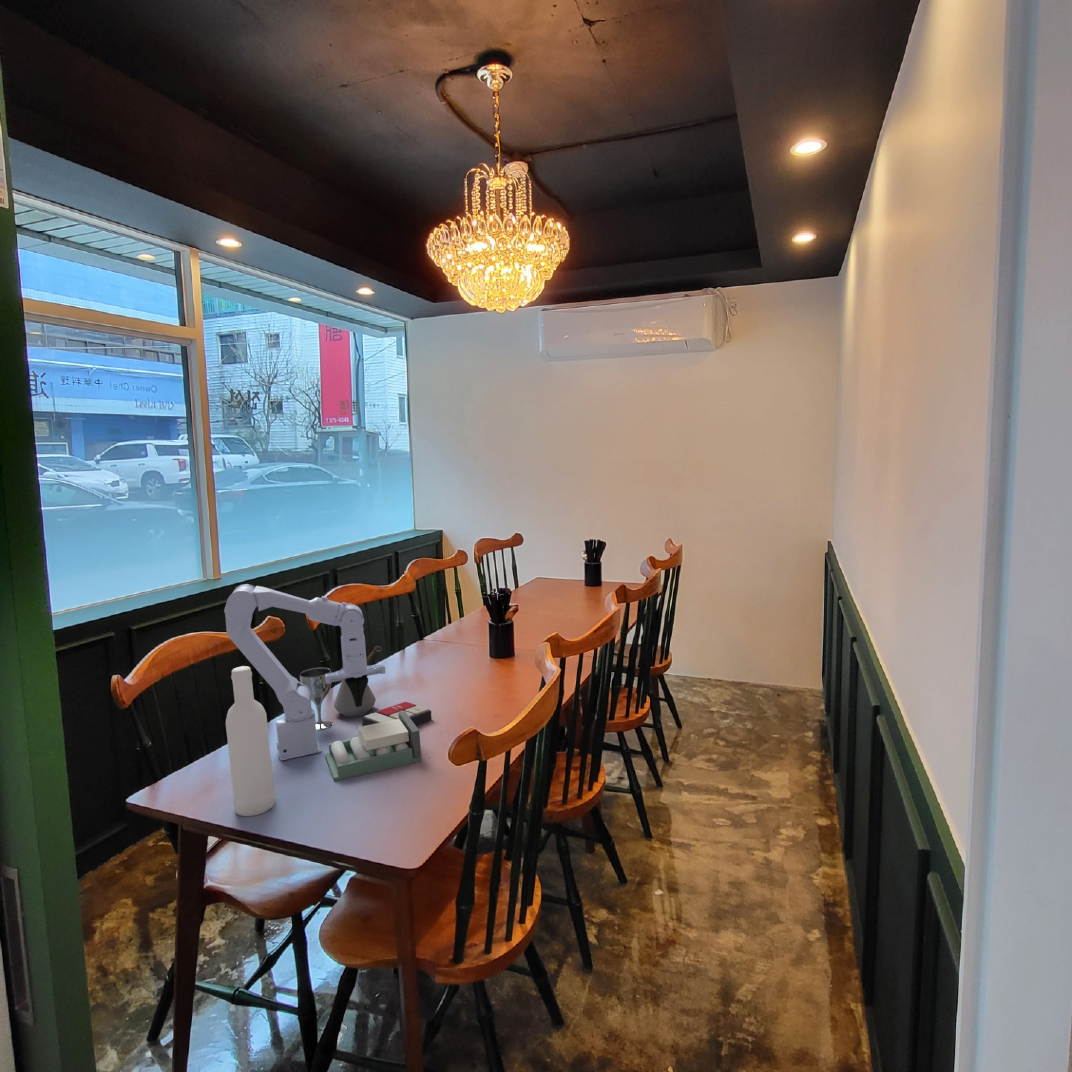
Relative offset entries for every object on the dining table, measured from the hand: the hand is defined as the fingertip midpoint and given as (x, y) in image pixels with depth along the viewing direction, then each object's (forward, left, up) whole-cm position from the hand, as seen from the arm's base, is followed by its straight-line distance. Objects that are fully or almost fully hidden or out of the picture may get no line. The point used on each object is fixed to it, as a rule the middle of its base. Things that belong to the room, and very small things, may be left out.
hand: (358, 705), depth 171 cm
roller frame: (0, -12, -9) cm, 15 cm away
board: (+3, -12, -5) cm, 13 cm away
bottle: (-26, -22, -10) cm, 35 cm away
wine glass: (-8, +16, -10) cm, 20 cm away
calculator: (+11, +5, -10) cm, 16 cm away
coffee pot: (+6, +25, -10) cm, 27 cm away
